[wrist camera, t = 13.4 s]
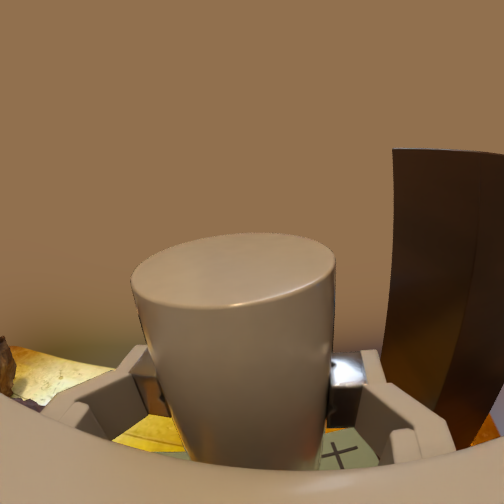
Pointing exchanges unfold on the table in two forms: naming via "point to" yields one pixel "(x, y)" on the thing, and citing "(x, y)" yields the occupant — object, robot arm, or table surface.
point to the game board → (333, 451)
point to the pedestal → (447, 285)
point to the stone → (6, 368)
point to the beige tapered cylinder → (243, 345)
